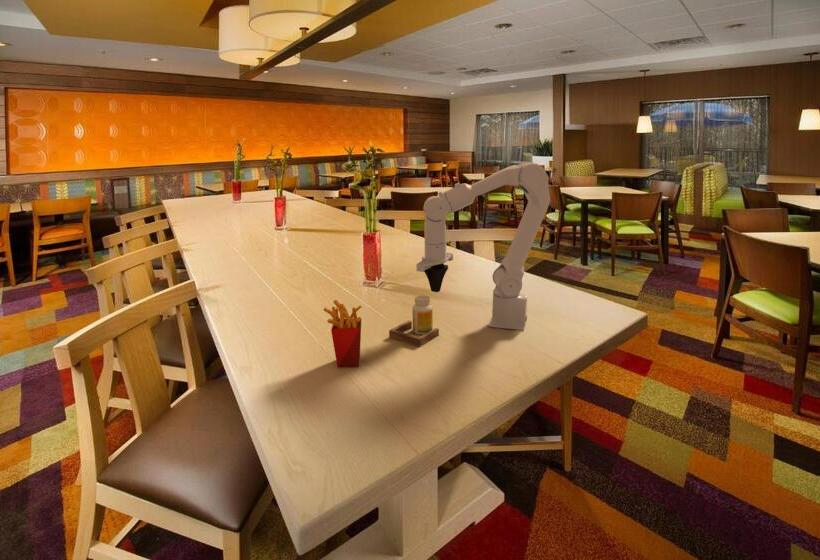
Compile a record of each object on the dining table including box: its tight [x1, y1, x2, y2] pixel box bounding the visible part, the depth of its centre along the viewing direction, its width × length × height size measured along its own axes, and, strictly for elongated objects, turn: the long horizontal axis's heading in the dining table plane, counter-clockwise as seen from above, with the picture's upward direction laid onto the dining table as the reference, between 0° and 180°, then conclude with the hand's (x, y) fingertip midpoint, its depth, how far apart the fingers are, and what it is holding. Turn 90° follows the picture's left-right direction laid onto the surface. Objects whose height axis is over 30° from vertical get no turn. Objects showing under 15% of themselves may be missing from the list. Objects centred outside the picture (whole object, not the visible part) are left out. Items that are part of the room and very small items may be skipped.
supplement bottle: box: [411, 295, 434, 336], centre depth 129 cm, size 5×5×10 cm
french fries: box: [323, 299, 362, 369], centre depth 110 cm, size 9×8×15 cm
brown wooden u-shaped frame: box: [388, 320, 440, 347], centre depth 126 cm, size 8×10×2 cm
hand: (435, 291), depth 131 cm, fingers closed
